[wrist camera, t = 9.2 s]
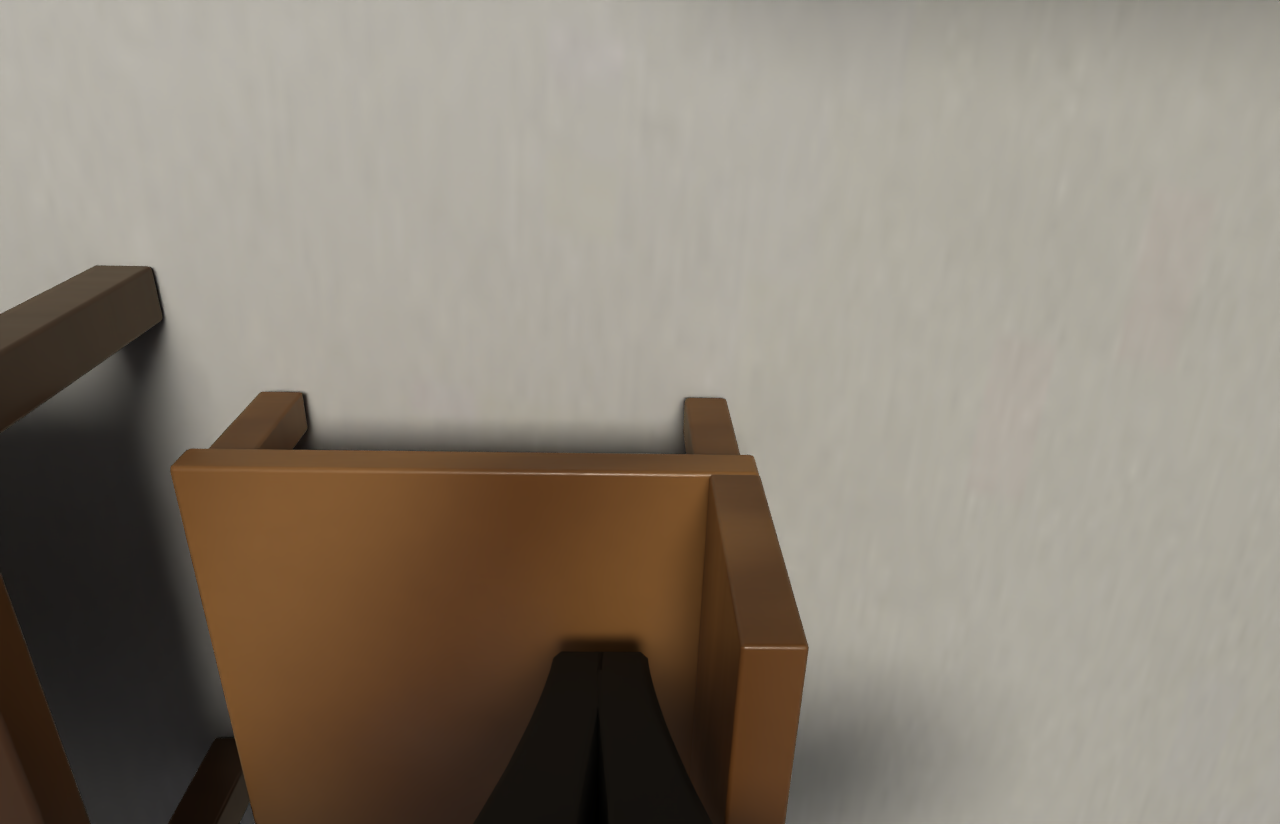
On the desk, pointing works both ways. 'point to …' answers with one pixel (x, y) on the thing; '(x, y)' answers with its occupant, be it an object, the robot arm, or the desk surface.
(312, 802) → the oak chair
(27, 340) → the dining table
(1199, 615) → the desk surface
